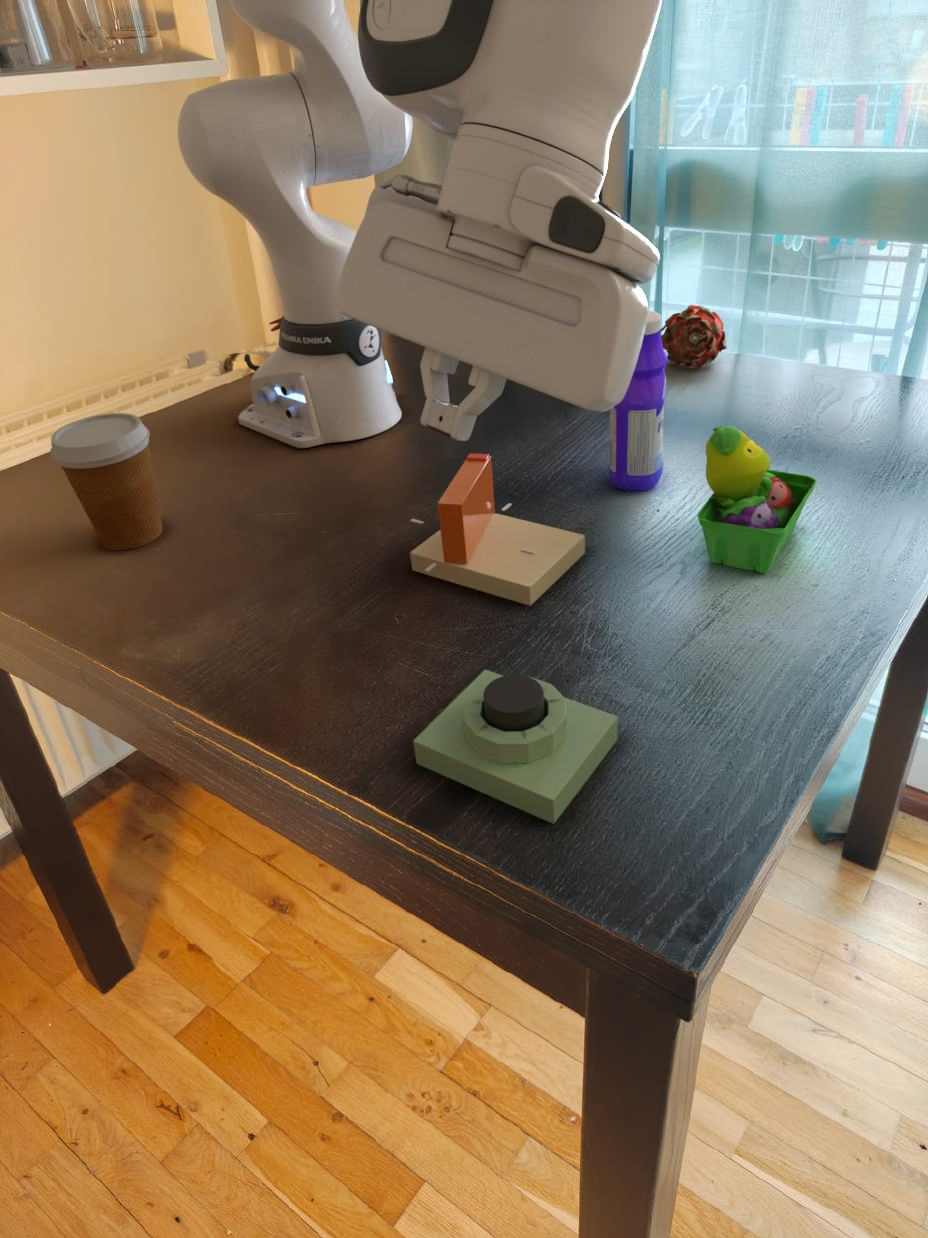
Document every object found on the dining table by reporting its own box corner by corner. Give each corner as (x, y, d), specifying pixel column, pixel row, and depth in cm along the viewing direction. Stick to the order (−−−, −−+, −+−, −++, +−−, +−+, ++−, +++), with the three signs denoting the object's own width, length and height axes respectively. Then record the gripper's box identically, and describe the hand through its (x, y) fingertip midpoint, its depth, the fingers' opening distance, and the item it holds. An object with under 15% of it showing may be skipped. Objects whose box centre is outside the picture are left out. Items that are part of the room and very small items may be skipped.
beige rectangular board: (368, 572, 83) (365, 552, 82) (454, 508, 92) (452, 489, 91) (517, 618, 74) (516, 597, 73) (595, 543, 84) (595, 523, 82)
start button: (473, 720, 59) (471, 700, 58) (505, 687, 61) (504, 667, 60) (524, 740, 57) (523, 720, 56) (555, 705, 59) (554, 685, 58)
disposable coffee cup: (93, 568, 88) (51, 458, 81) (80, 530, 95) (41, 426, 88) (186, 540, 91) (154, 432, 84) (168, 506, 98) (136, 403, 91)
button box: (416, 764, 61) (409, 720, 59) (486, 691, 67) (483, 649, 64) (553, 824, 55) (552, 779, 53) (617, 739, 61) (618, 695, 59)
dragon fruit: (705, 390, 117) (667, 376, 128) (754, 344, 116) (711, 333, 126) (669, 343, 113) (634, 332, 124) (719, 295, 112) (679, 288, 123)
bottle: (661, 495, 90) (670, 325, 81) (606, 494, 92) (607, 327, 82) (662, 465, 96) (670, 303, 86) (610, 464, 97) (612, 305, 87)
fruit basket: (776, 585, 75) (793, 464, 69) (677, 563, 79) (685, 447, 73) (811, 526, 83) (829, 412, 76) (719, 509, 87) (729, 400, 81)
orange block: (467, 564, 78) (461, 501, 75) (444, 562, 79) (437, 500, 75) (495, 511, 86) (490, 453, 83) (473, 510, 87) (468, 452, 83)
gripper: (349, 151, 53) (292, 376, 57) (651, 237, 45) (557, 492, 49) (407, 181, 58) (351, 384, 63) (686, 263, 50) (598, 490, 54)
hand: (443, 433), depth 56 cm, fingers closed
